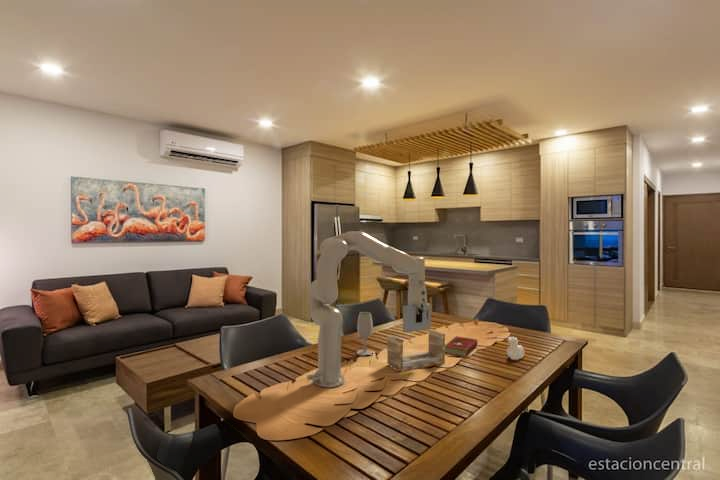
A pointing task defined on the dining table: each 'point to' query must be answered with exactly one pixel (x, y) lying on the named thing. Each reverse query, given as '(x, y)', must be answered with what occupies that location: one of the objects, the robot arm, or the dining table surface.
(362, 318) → the wineglass
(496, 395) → the dining table surface
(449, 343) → the hardcover book
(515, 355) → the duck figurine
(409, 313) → the door panel
